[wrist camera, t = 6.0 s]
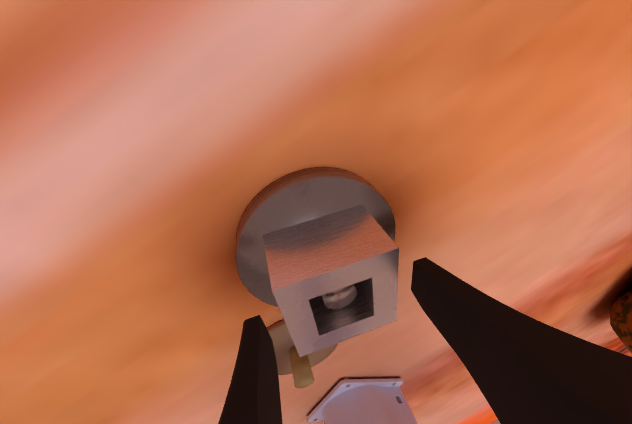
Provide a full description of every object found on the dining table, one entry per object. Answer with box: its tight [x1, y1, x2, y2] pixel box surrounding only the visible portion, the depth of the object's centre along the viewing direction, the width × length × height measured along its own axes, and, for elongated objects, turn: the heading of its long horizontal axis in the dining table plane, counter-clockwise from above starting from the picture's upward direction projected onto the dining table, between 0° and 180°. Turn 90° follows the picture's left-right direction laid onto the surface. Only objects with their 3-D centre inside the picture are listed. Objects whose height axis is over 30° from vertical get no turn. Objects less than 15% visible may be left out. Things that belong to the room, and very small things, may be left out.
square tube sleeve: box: [263, 204, 399, 357], centre depth 13 cm, size 5×5×4 cm
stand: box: [267, 320, 338, 388], centre depth 19 cm, size 7×7×3 cm
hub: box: [236, 167, 395, 309], centre depth 13 cm, size 9×9×4 cm
